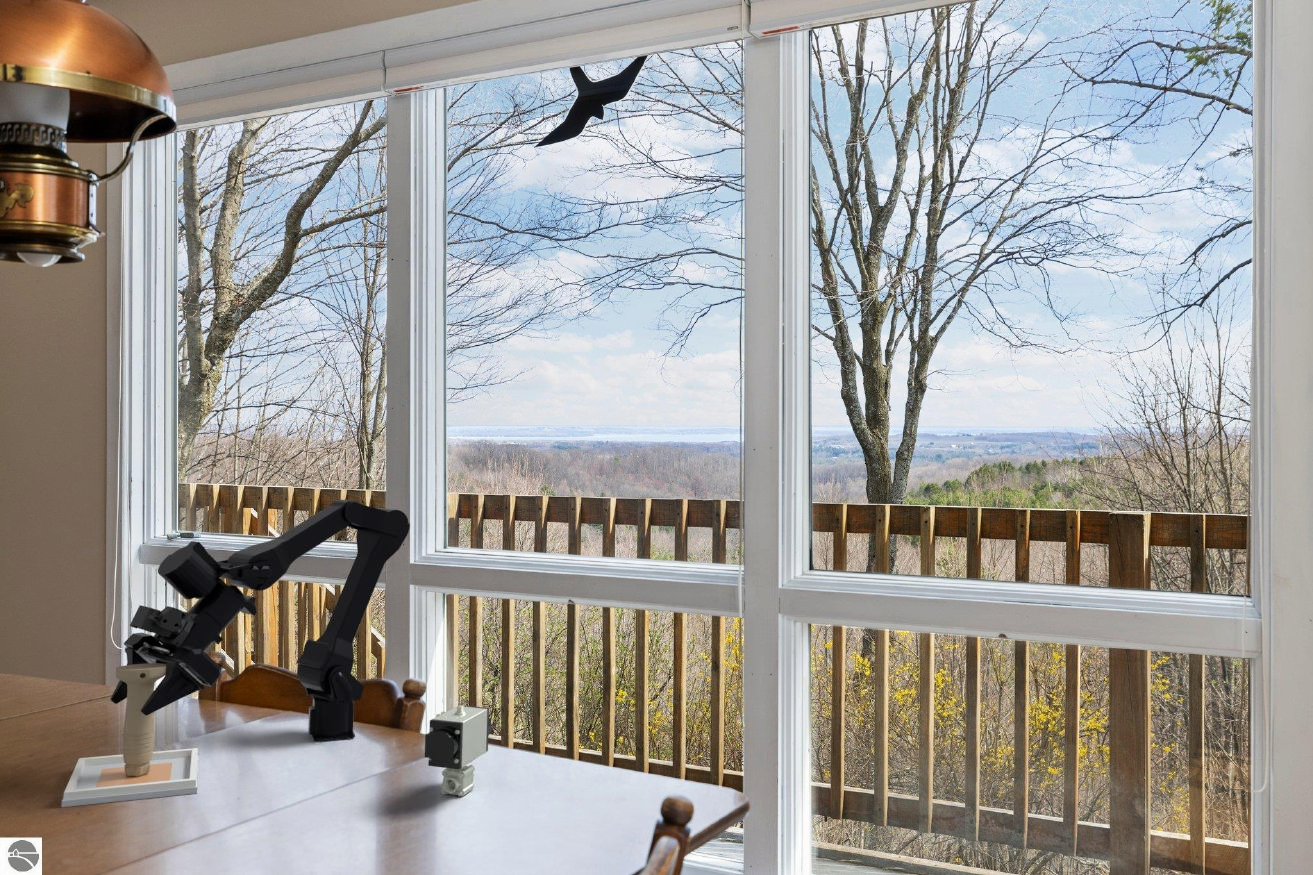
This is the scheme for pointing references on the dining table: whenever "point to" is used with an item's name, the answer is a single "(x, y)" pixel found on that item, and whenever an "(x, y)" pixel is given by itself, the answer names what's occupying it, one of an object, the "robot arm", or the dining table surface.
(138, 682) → the handle
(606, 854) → the dining table surface
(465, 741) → the pneumatic valve
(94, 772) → the white shallow tray
